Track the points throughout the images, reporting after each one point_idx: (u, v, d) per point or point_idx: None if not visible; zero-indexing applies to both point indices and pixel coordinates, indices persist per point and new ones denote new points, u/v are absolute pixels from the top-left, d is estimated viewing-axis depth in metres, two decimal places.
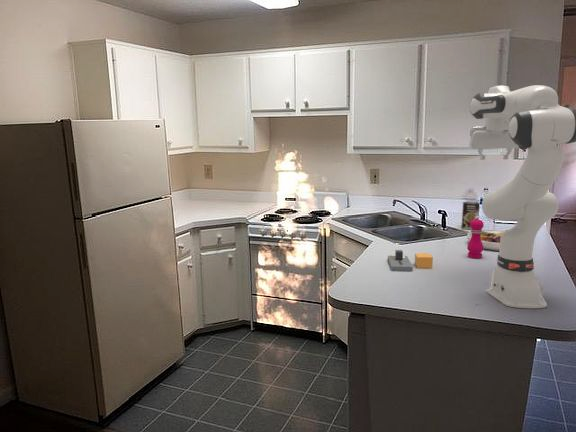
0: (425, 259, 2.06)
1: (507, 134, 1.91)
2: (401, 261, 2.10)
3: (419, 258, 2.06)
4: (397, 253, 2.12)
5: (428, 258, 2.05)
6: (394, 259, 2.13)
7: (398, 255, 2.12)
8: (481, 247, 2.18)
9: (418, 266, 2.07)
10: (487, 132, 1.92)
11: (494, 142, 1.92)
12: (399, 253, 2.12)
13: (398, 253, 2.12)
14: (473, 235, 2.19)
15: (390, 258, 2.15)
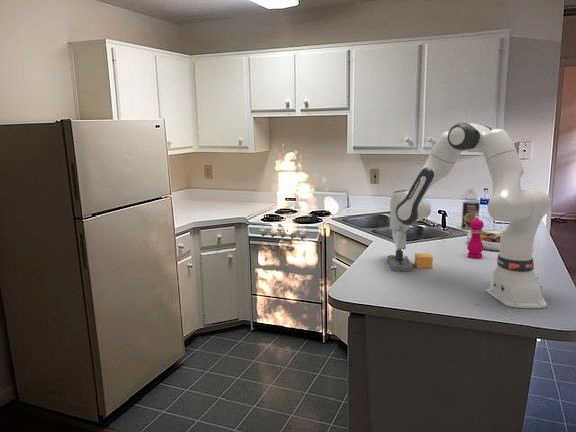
0: (425, 259, 2.06)
1: None
2: (401, 261, 2.10)
3: (419, 258, 2.06)
4: (397, 253, 2.11)
5: (428, 258, 2.05)
6: (394, 259, 2.13)
7: (398, 255, 2.11)
8: (481, 247, 2.18)
9: (418, 266, 2.07)
10: None
11: None
12: (399, 253, 2.11)
13: (398, 253, 2.11)
14: (473, 235, 2.19)
15: (390, 258, 2.15)
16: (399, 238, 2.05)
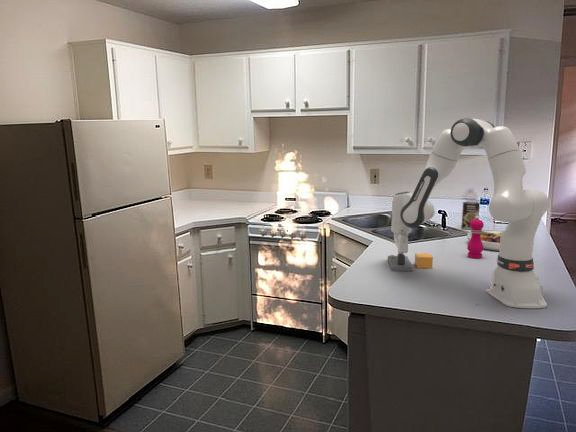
0: (425, 259, 2.06)
1: None
2: None
3: (419, 258, 2.06)
4: (399, 257, 2.05)
5: (428, 258, 2.05)
6: (394, 259, 2.13)
7: (400, 259, 2.05)
8: (481, 247, 2.18)
9: (418, 266, 2.07)
10: None
11: None
12: (401, 257, 2.05)
13: (400, 257, 2.05)
14: (473, 235, 2.19)
15: (390, 258, 2.15)
16: (401, 241, 1.98)
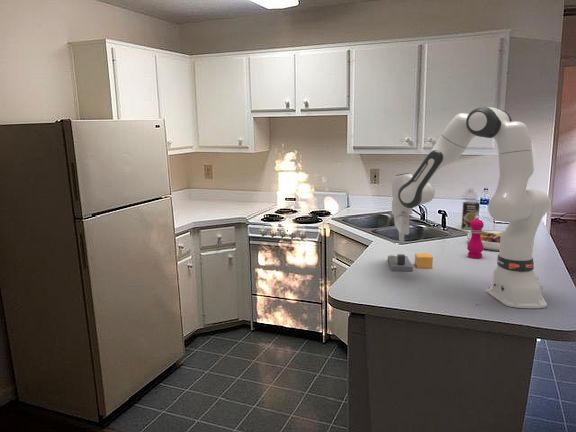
0: (425, 259, 2.06)
1: None
2: None
3: (419, 258, 2.06)
4: (399, 257, 2.05)
5: (428, 258, 2.05)
6: (394, 259, 2.13)
7: (400, 259, 2.05)
8: (481, 247, 2.18)
9: (418, 266, 2.07)
10: None
11: None
12: (401, 257, 2.05)
13: (400, 257, 2.05)
14: (473, 235, 2.19)
15: (390, 258, 2.15)
16: (402, 223, 1.95)
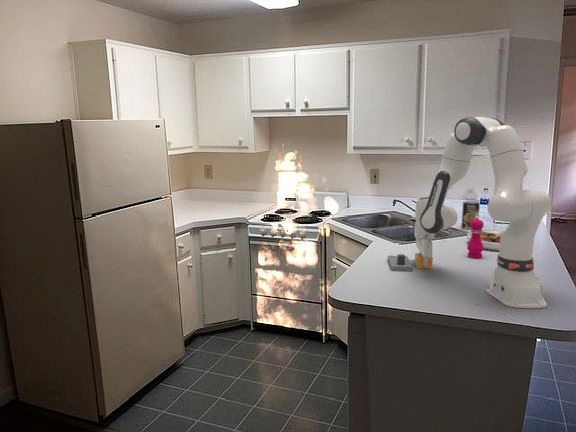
0: None
1: None
2: None
3: (419, 258, 2.06)
4: (399, 257, 2.05)
5: None
6: (394, 259, 2.13)
7: (400, 259, 2.05)
8: (481, 247, 2.18)
9: (418, 266, 2.07)
10: None
11: None
12: (401, 257, 2.05)
13: (400, 257, 2.05)
14: (473, 235, 2.19)
15: (390, 258, 2.15)
16: (425, 247, 1.98)
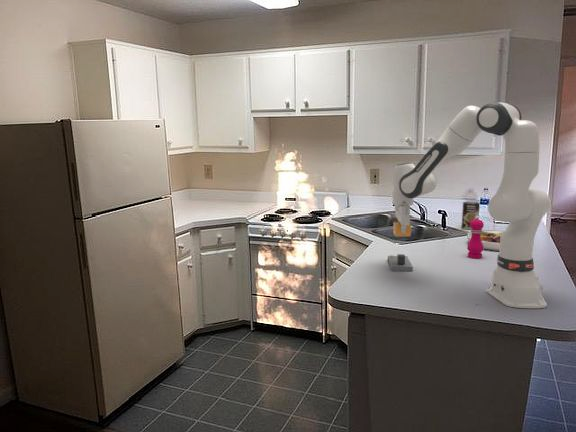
0: None
1: None
2: None
3: (397, 226, 2.01)
4: (399, 257, 2.05)
5: (406, 226, 2.00)
6: (394, 259, 2.13)
7: (400, 259, 2.05)
8: (481, 247, 2.18)
9: (396, 234, 2.01)
10: None
11: None
12: (401, 257, 2.05)
13: (400, 257, 2.05)
14: (473, 235, 2.19)
15: (390, 258, 2.15)
16: (403, 213, 1.93)
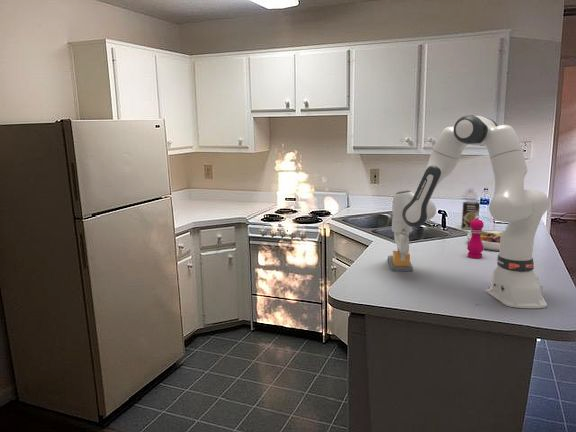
0: None
1: None
2: None
3: (396, 256, 2.03)
4: None
5: (405, 256, 2.03)
6: None
7: None
8: (481, 247, 2.18)
9: (395, 264, 2.04)
10: None
11: None
12: None
13: None
14: (473, 235, 2.19)
15: (390, 258, 2.15)
16: (402, 241, 1.95)
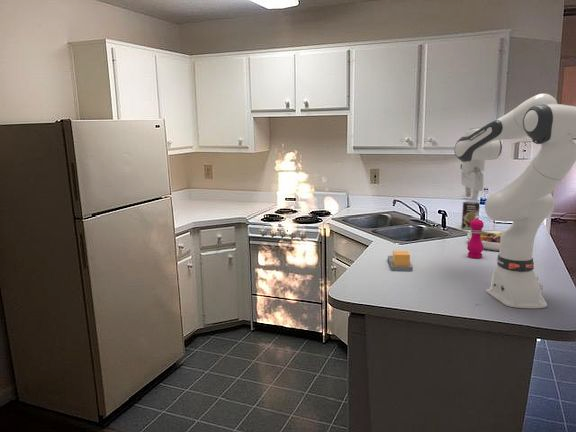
0: (402, 256, 2.03)
1: None
2: None
3: (396, 256, 2.03)
4: None
5: (405, 256, 2.03)
6: None
7: None
8: (481, 247, 2.18)
9: (395, 264, 2.04)
10: None
11: None
12: None
13: None
14: (473, 235, 2.19)
15: (390, 258, 2.15)
16: (476, 178, 1.90)
